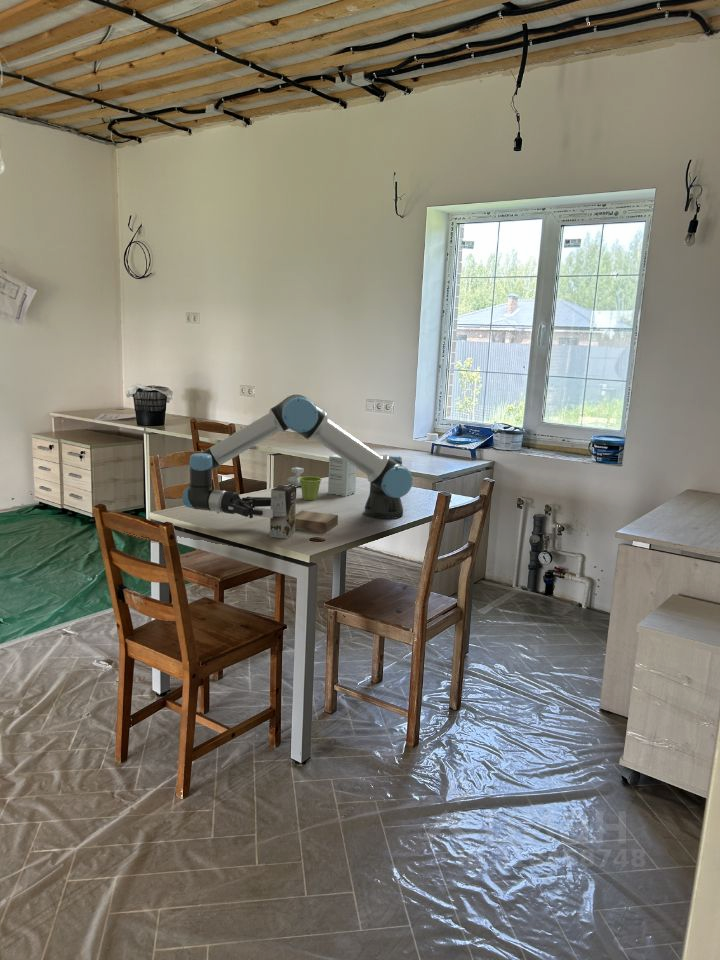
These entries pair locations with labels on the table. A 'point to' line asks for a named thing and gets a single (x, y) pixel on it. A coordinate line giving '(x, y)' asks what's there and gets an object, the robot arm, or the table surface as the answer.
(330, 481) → the supplement box
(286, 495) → the coffee box
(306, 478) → the plant pot
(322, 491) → the table surface
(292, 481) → the stamp
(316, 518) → the walnut riser block
